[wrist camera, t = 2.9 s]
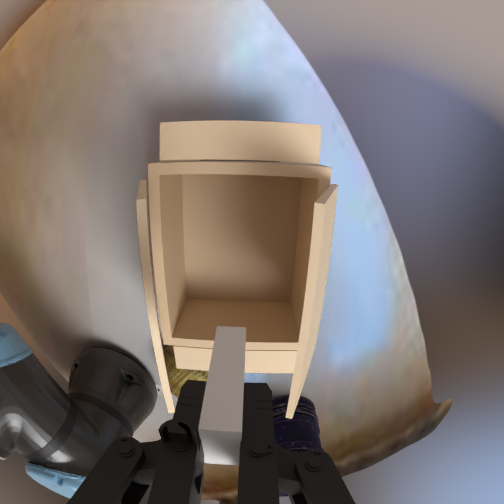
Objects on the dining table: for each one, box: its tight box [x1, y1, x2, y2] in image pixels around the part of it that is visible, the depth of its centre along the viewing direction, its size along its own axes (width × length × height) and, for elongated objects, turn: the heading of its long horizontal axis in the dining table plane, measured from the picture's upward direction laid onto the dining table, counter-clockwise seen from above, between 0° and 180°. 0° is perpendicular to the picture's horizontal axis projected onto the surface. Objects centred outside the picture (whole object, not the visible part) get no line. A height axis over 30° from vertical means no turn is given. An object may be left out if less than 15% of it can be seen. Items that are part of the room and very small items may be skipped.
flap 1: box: [136, 180, 175, 413], centre depth 20 cm, size 10×15×1 cm
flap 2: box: [286, 184, 338, 419], centre depth 21 cm, size 10×15×1 cm
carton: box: [148, 120, 331, 373], centre depth 30 cm, size 15×25×9 cm, turn 178°
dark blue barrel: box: [272, 396, 324, 496], centre depth 38 cm, size 10×10×15 cm
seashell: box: [163, 345, 209, 397], centre depth 38 cm, size 10×7×8 cm
